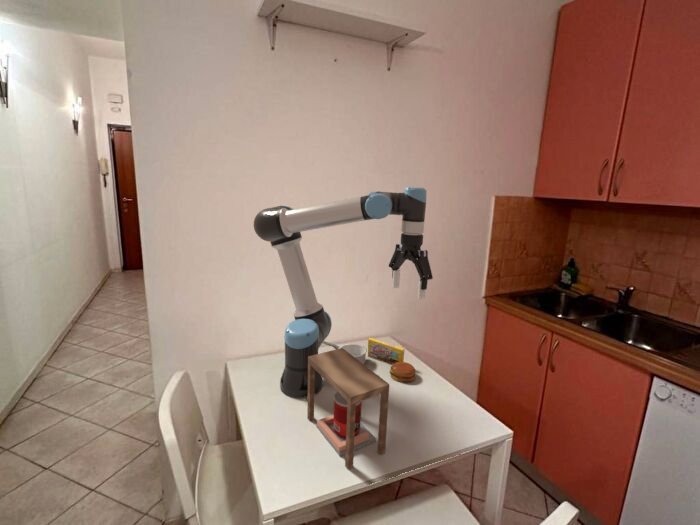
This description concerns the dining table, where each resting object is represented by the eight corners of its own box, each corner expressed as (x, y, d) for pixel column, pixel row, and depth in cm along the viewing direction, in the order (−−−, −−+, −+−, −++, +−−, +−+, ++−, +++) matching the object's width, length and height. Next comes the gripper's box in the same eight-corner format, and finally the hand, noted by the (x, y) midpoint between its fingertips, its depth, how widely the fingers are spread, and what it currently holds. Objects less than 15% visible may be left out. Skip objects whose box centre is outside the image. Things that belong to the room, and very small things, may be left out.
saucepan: (330, 348, 161) (330, 336, 160) (370, 360, 152) (371, 348, 151) (315, 359, 151) (315, 346, 150) (358, 372, 142) (358, 359, 141)
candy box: (367, 356, 155) (367, 338, 153) (369, 355, 156) (370, 337, 155) (401, 368, 146) (402, 349, 144) (403, 366, 148) (405, 348, 146)
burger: (420, 379, 139) (421, 368, 138) (401, 386, 134) (402, 374, 133) (402, 367, 147) (403, 357, 146) (384, 374, 142) (385, 363, 141)
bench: (340, 406, 120) (342, 347, 115) (385, 452, 101) (389, 384, 96) (307, 418, 114) (308, 356, 109) (348, 469, 94) (351, 397, 89)
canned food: (357, 441, 103) (359, 406, 101) (330, 436, 105) (331, 402, 102) (362, 424, 110) (363, 391, 108) (336, 419, 112) (337, 387, 109)
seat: (349, 414, 116) (350, 407, 116) (375, 441, 105) (376, 433, 104) (316, 426, 110) (316, 419, 109) (339, 456, 99) (340, 448, 98)
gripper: (447, 238, 116) (441, 301, 121) (397, 228, 137) (393, 282, 142) (430, 239, 112) (424, 304, 117) (381, 228, 133) (378, 284, 138)
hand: (407, 292), depth 129 cm, fingers open, 13 cm apart
